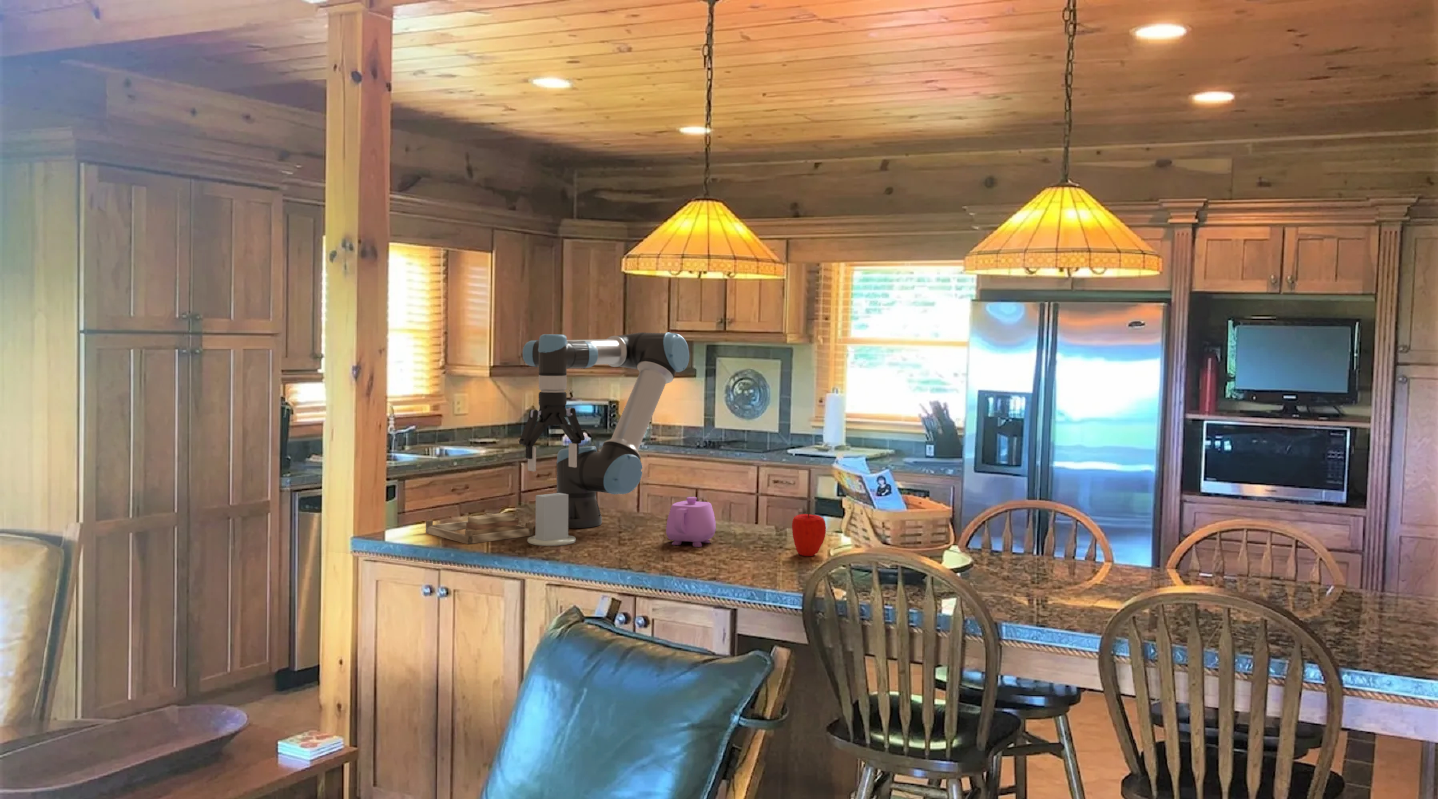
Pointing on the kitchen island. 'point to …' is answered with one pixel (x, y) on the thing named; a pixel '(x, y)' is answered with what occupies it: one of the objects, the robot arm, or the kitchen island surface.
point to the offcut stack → (491, 523)
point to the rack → (468, 538)
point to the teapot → (691, 522)
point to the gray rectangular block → (551, 516)
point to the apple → (808, 533)
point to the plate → (552, 541)
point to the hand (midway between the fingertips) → (552, 469)
